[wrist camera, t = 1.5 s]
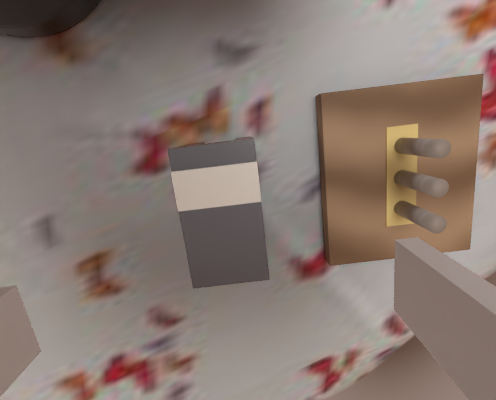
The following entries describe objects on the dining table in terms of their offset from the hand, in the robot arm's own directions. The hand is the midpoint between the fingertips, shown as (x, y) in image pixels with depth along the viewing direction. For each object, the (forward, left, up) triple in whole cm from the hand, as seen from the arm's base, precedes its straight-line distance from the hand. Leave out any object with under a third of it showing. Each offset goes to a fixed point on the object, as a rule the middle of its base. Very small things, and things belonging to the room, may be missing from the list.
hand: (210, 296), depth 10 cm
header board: (0, +14, -15) cm, 20 cm away
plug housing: (0, 0, -15) cm, 15 cm away
